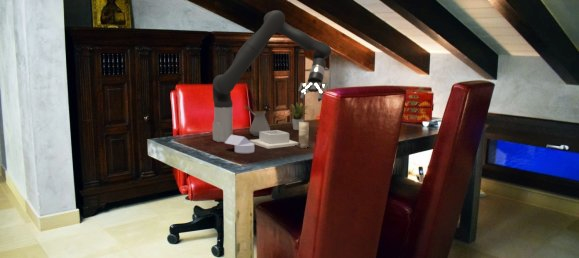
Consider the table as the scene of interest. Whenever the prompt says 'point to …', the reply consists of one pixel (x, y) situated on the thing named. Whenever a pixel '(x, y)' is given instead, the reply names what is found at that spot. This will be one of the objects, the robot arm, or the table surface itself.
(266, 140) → the socket plate
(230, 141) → the wedge on round base
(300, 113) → the house plant
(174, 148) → the table surface
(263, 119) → the coffee pot
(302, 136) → the coupling plug
